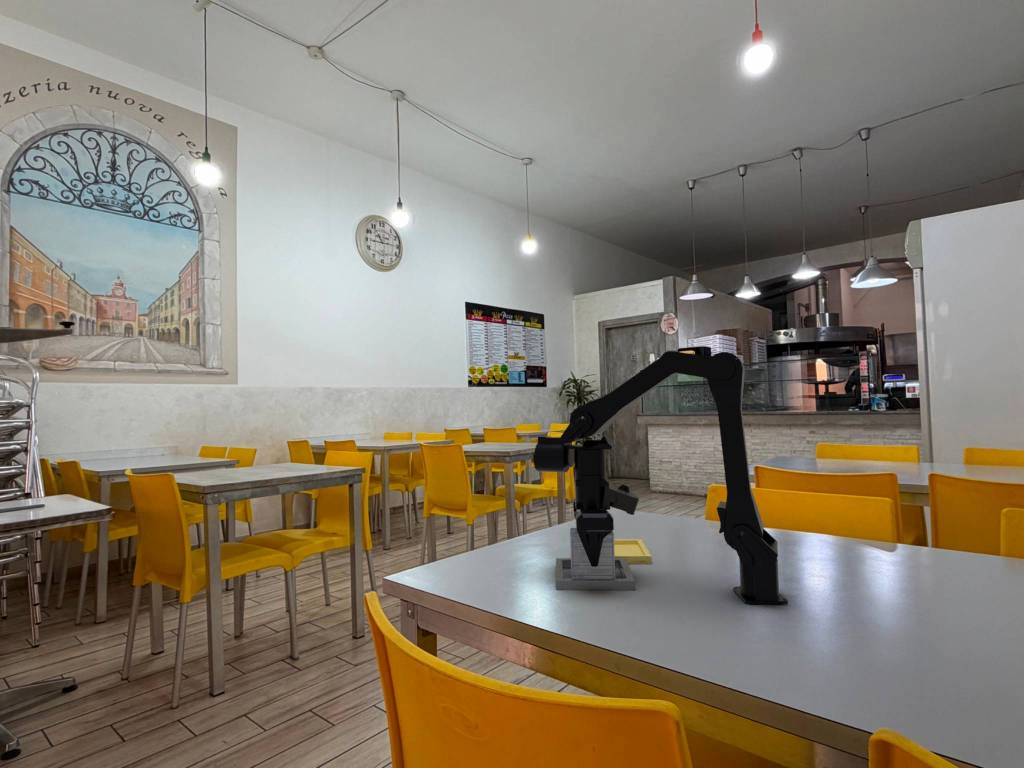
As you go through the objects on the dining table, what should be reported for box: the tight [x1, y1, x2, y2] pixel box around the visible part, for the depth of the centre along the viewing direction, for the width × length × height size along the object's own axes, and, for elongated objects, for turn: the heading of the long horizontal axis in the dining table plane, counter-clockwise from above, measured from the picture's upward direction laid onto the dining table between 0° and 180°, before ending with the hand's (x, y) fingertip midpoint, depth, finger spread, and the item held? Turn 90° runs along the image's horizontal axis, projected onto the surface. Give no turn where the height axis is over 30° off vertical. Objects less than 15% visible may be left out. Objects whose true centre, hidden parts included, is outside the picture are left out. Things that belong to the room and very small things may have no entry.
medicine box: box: [569, 527, 616, 579], centre depth 100 cm, size 8×4×9 cm, turn 84°
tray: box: [614, 538, 653, 565], centre depth 114 cm, size 13×9×2 cm
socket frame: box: [555, 557, 636, 591], centre depth 100 cm, size 13×13×2 cm
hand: (592, 558), depth 100 cm, fingers open, 9 cm apart
